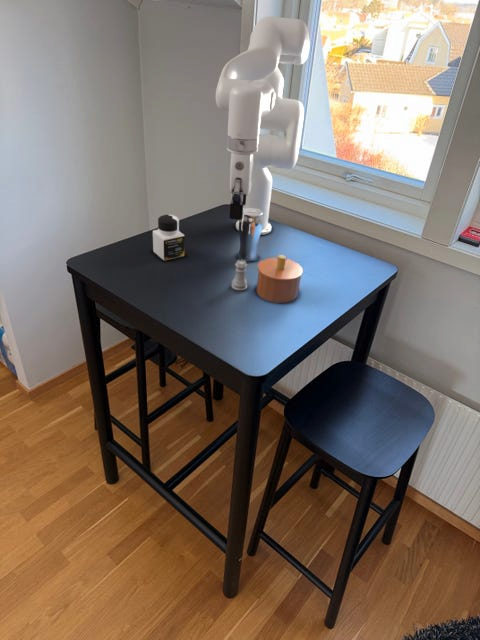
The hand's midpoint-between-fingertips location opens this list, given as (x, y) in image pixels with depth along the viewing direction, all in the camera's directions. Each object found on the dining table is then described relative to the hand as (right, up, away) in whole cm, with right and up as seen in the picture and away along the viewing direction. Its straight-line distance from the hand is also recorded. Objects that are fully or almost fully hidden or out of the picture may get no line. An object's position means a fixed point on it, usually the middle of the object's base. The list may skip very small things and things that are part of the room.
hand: (237, 211), depth 122 cm
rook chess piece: (0, -19, +9) cm, 21 cm away
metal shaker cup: (+3, -9, +24) cm, 26 cm away
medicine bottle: (-21, -8, +22) cm, 32 cm away
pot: (+11, -20, +8) cm, 25 cm away
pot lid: (+11, -15, +4) cm, 19 cm away
